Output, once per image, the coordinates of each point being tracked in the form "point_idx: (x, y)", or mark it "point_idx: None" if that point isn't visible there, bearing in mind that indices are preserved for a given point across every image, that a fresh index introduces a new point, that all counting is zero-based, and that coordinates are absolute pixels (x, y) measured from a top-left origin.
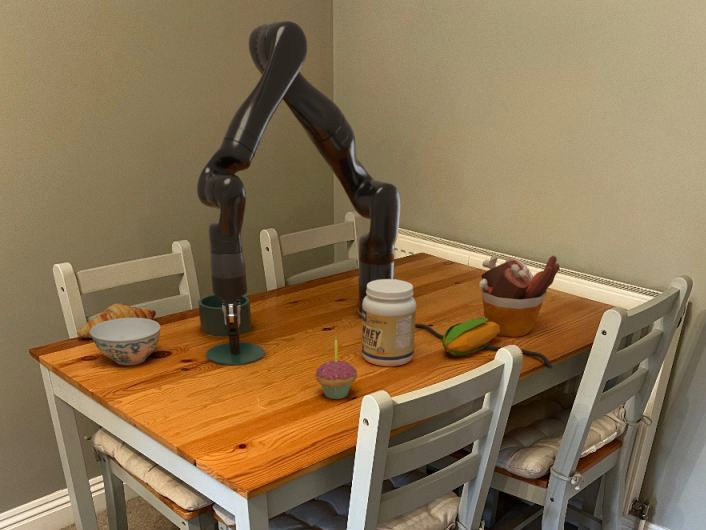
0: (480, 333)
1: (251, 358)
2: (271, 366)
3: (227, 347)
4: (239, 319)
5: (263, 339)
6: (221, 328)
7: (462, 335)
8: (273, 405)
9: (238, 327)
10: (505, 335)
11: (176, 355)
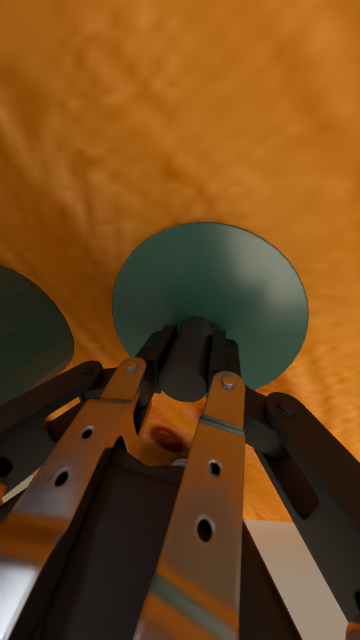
0: None
1: (274, 283)
2: (343, 187)
3: None
4: (240, 478)
5: (49, 227)
6: (50, 355)
7: None
8: None
9: (146, 369)
10: None
11: (172, 423)
